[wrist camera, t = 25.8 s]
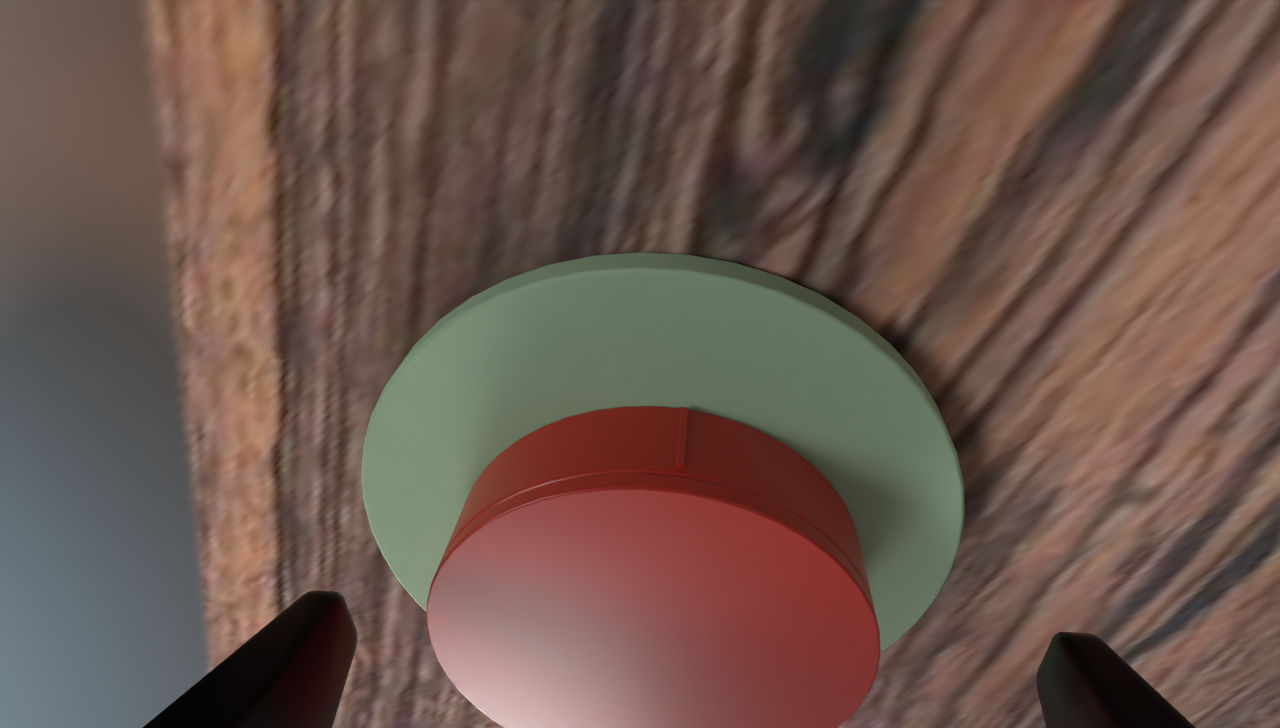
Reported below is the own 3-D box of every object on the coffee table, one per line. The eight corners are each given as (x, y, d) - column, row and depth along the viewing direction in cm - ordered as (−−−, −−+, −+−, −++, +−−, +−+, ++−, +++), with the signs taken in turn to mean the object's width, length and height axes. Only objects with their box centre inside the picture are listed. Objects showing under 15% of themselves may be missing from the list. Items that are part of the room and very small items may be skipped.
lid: (453, 370, 10) (409, 448, 9) (917, 434, 10) (952, 525, 9) (466, 654, 14) (436, 742, 13) (805, 704, 14) (816, 800, 13)
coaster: (276, 504, 13) (259, 527, 13) (630, 93, 9) (625, 105, 8) (668, 737, 16) (666, 764, 16) (1080, 524, 12) (1097, 552, 11)
